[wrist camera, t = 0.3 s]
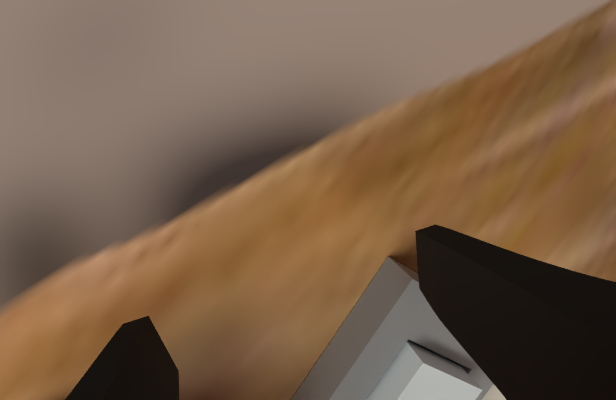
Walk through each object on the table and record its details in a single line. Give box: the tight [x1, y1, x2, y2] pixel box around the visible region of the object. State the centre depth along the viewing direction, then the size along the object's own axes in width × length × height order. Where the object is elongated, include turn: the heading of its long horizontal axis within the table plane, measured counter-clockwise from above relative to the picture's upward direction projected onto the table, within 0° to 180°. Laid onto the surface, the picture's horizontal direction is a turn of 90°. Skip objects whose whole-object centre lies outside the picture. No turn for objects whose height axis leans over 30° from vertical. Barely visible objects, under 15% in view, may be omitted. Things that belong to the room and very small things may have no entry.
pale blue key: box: [366, 341, 482, 400], centre depth 21 cm, size 5×5×2 cm
